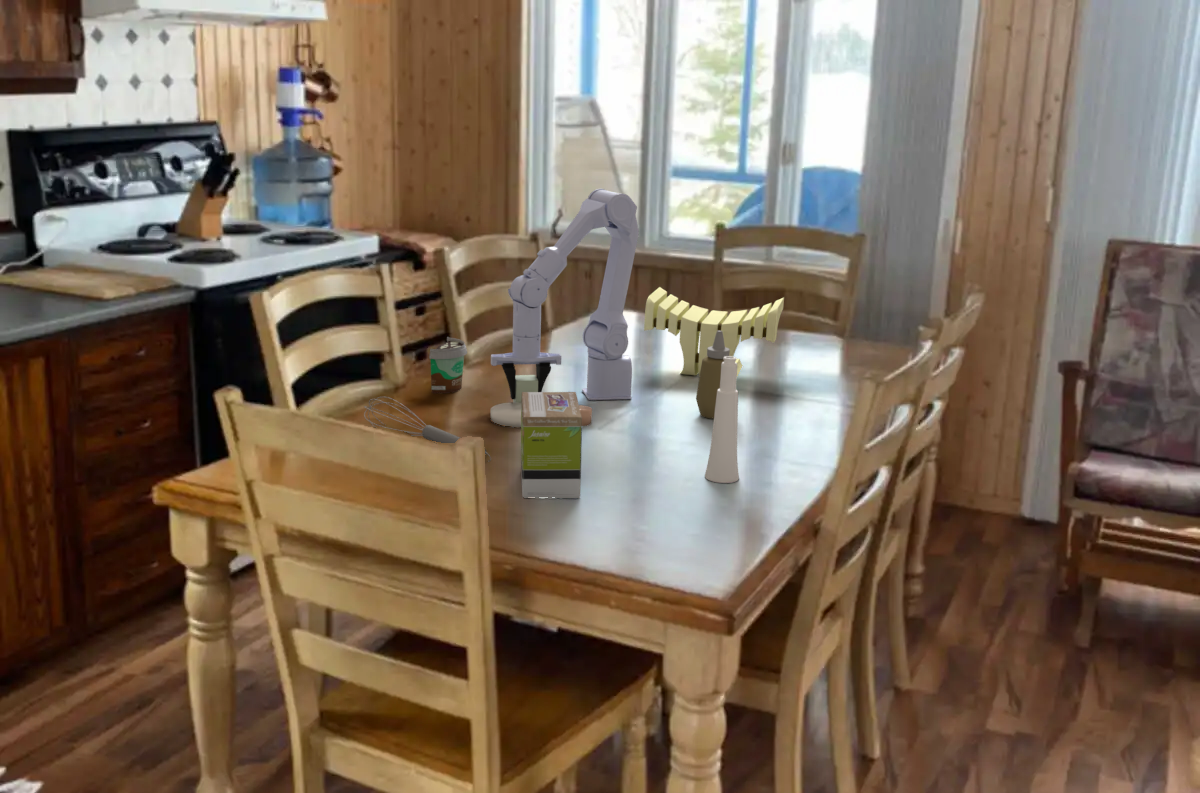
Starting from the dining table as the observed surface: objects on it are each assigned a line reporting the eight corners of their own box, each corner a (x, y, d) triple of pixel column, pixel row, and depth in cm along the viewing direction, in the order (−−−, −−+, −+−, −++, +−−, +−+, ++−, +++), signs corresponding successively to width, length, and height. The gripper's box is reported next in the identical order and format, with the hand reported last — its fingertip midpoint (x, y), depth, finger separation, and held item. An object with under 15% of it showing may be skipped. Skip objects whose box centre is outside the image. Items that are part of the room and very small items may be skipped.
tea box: (519, 469, 215) (520, 389, 211) (575, 470, 215) (578, 390, 211) (520, 500, 200) (522, 414, 196) (581, 500, 201) (584, 415, 197)
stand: (540, 410, 250) (540, 401, 249) (549, 426, 239) (549, 417, 239) (487, 412, 248) (487, 402, 247) (494, 428, 237) (494, 418, 237)
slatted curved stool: (642, 373, 282) (645, 298, 277) (656, 358, 297) (659, 286, 292) (770, 386, 275) (776, 310, 270) (778, 370, 290) (784, 297, 285)
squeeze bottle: (737, 413, 254) (743, 329, 249) (728, 423, 246) (734, 337, 241) (700, 408, 256) (705, 325, 251) (690, 418, 249) (695, 333, 244)
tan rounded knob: (588, 419, 246) (589, 404, 245) (593, 426, 241) (594, 411, 241) (564, 419, 245) (565, 405, 244) (569, 427, 240) (569, 412, 240)
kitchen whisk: (478, 468, 215) (479, 434, 213) (356, 428, 236) (356, 396, 234) (502, 460, 220) (503, 427, 218) (381, 421, 240) (380, 391, 239)
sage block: (534, 402, 256) (534, 374, 254) (537, 408, 252) (538, 380, 250) (513, 402, 255) (513, 375, 254) (516, 408, 251) (516, 380, 249)
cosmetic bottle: (743, 482, 212) (752, 361, 206) (710, 484, 211) (718, 362, 205) (732, 471, 218) (741, 352, 212) (700, 472, 216) (708, 353, 210)
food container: (456, 397, 257) (457, 351, 255) (429, 394, 258) (429, 349, 256) (474, 382, 269) (474, 339, 266) (447, 380, 270) (447, 336, 267)
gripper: (558, 329, 255) (556, 391, 258) (489, 330, 252) (488, 393, 255) (563, 337, 248) (562, 400, 252) (493, 338, 245) (492, 402, 249)
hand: (525, 397), depth 253 cm, fingers open, 5 cm apart
